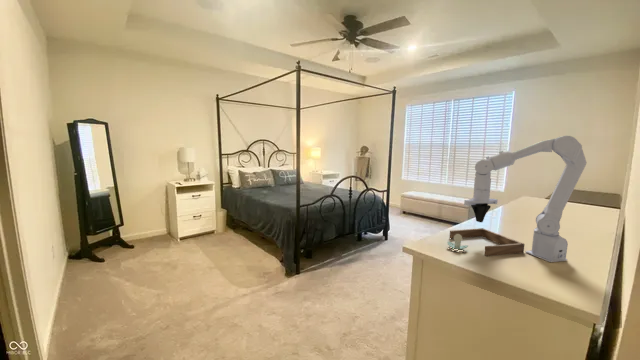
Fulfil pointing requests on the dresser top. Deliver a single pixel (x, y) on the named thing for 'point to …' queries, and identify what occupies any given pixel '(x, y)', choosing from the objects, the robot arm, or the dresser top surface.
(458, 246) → the pacifier
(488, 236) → the open box
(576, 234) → the dresser top surface
